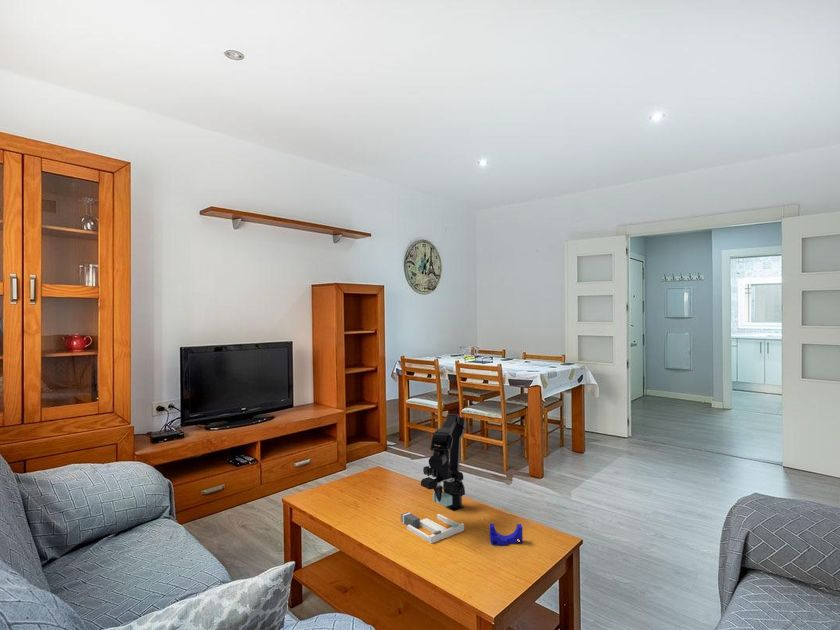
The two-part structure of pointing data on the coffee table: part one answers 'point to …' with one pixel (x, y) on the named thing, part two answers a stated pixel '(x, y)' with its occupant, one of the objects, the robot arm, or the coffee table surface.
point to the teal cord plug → (443, 499)
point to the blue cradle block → (502, 539)
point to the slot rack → (437, 529)
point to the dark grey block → (410, 519)
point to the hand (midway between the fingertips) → (442, 500)
